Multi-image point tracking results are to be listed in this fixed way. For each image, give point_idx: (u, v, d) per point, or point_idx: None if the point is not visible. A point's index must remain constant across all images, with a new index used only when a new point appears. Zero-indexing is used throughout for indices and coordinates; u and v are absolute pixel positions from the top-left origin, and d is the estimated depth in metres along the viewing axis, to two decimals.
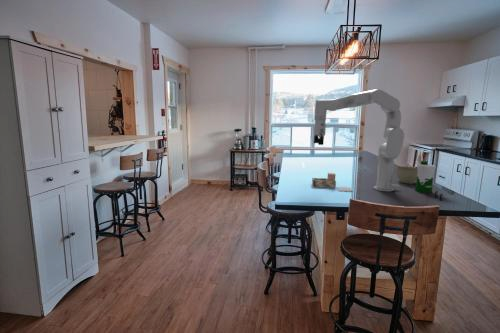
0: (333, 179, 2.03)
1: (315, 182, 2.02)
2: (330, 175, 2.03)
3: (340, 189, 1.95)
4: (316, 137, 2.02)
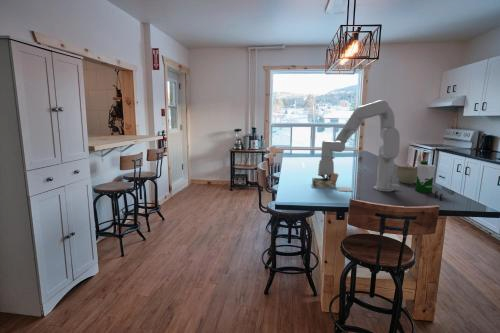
0: (335, 179, 2.03)
1: (315, 182, 2.02)
2: (333, 174, 2.02)
3: (340, 189, 1.95)
4: None
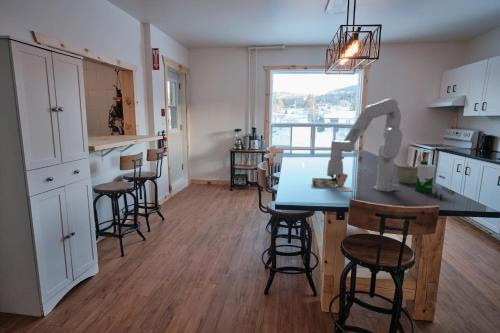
0: (344, 179, 2.02)
1: (315, 182, 2.02)
2: (342, 174, 2.02)
3: (340, 189, 1.95)
4: None
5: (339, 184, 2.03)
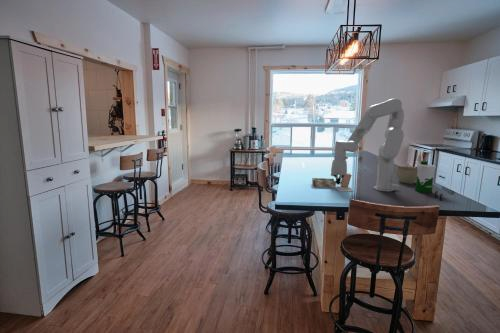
0: (348, 179, 2.02)
1: (315, 182, 2.02)
2: (346, 175, 2.01)
3: (340, 189, 1.95)
4: None
5: (344, 185, 2.03)
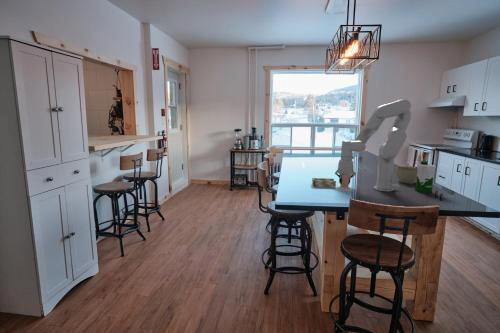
0: (347, 179, 2.02)
1: (315, 182, 2.02)
2: (344, 175, 2.02)
3: (340, 189, 1.95)
4: (341, 177, 2.04)
5: (344, 185, 2.03)
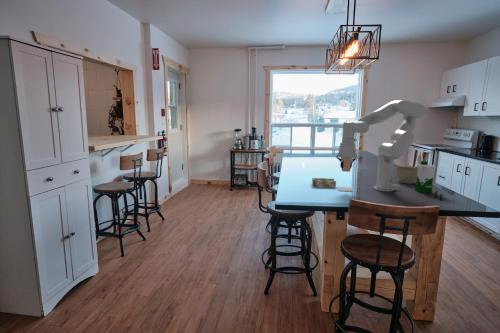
0: (348, 163, 1.91)
1: (315, 182, 2.02)
2: (345, 159, 1.91)
3: (340, 189, 1.95)
4: None
5: (345, 169, 1.92)
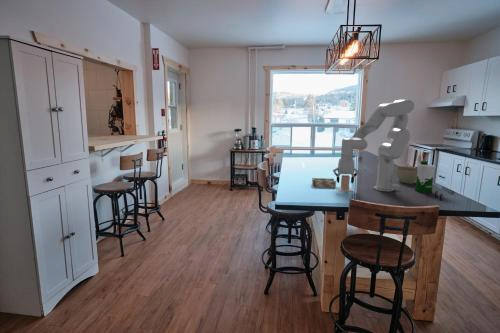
0: (347, 181, 1.93)
1: (315, 182, 2.02)
2: (344, 177, 1.93)
3: (340, 189, 1.95)
4: None
5: (344, 188, 1.94)
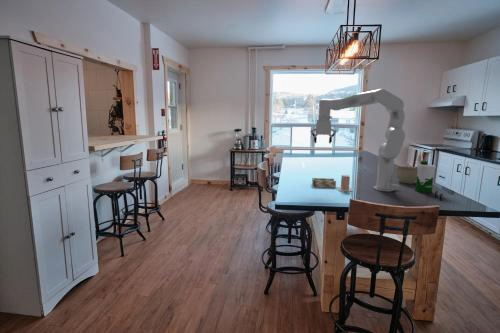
0: (347, 181, 1.93)
1: (315, 182, 2.02)
2: (344, 177, 1.93)
3: (340, 189, 1.95)
4: (316, 137, 2.00)
5: (344, 188, 1.94)
